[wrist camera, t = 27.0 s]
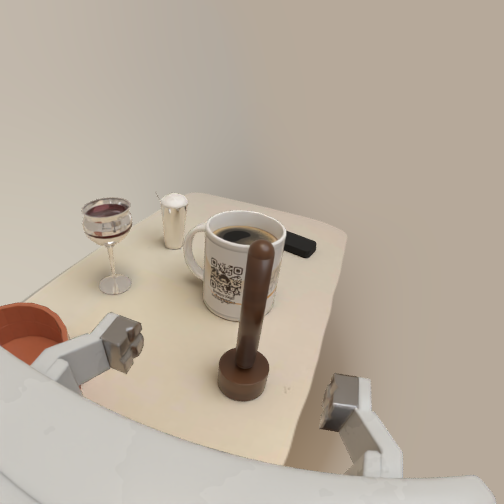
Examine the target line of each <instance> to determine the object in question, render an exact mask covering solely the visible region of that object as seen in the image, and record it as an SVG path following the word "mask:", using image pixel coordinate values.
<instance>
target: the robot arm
mask: <svg viewBox="0 0 504 504" xmlns="http://www.w3.org/2000/svg"><path fill="white" fill-rule="evenodd" d="M141 330H142V326H141V323H139V322H136V321H134V320H131V319H128V318H126V317H123V316H121V315H118V314H115V313H113V312H110V313H108V314H107V315H106V316H105V317H104V318H103V319H102V320H101V322H100V323H99V324H98V325H97V326H96V327H95V329H94V330H93V331H92V332H91V333H90V334H88V333H86V334H84V335H81V336H78V337H76V338H73V339H70V340H68V341H65V342H62V343H60V344H57V345H54V346H51V347H49V348H46V349H45V350H44V351H43V352H42V353H41V354H40V355H39V356H38V357H37V359H36V360H35V361H34V362H33V363H32V364H31V365H30V366H29V365H28V364H26V363H25V362H23V361H22V360H20V359H19V358H17V357H16V356H14V355H13V354H11V353H10V352H8V351H7V350H6V349H4V348H3V347H1V346H0V504H496V499H495V496H494V495H493V493H492V492H491V491H490V489H489V488H488V487H487V486H486V485H485V483H484V482H483V481H482V480H481V479H480V478H479V477H478V476H475V475H466V476H454V477H437V478H403V452H402V451H401V449H400V448H399V446H398V445H397V443H396V442H395V440H394V439H393V438H392V436H391V435H390V433H389V432H388V430H387V429H386V427H385V426H384V425H383V423H382V422H381V420H380V419H379V417H378V416H377V414H376V413H375V412H372V410H371V381H370V379H367V378H361V377H355V376H349V375H343V374H337V373H334V374H333V376H332V378H331V383H330V384H329V385H328V386H327V388H326V390H325V394H324V398H323V403H322V407H323V409H324V411H323V413H322V415H321V419H320V429H325V430H330V431H335V432H339V434H340V436H341V439H342V441H343V443H344V445H345V447H346V449H347V451H348V453H349V455H350V457H351V460H352V462H353V465H352V466H351V468H349V469H348V470H347V471H346V472H345V473H344V474H343V475H341V474H333V473H325V472H317V471H311V470H304V469H298V468H292V467H287V466H282V465H276V464H272V463H267V462H262V461H258V460H254V459H249V458H245V457H241V456H237V455H234V454H230V453H226V452H223V451H219V450H216V449H212V448H209V447H206V446H203V445H199V444H196V443H193V442H190V441H187V440H184V439H181V438H178V437H175V436H173V435H170V434H167V433H164V432H162V431H159V430H156V429H154V428H151V427H149V426H146V425H144V424H141V423H139V422H137V421H134V420H132V419H130V418H127V417H125V416H123V415H120V414H118V413H116V412H114V411H112V410H110V409H107V408H105V407H103V406H101V405H99V404H97V403H95V402H93V401H91V400H89V399H87V398H85V397H83V394H82V392H81V390H80V388H79V386H80V385H81V384H83V383H85V382H87V381H89V380H90V379H92V378H94V377H96V376H98V375H100V374H101V373H103V372H105V371H107V370H108V369H110V368H113V369H115V370H118V371H120V372H123V373H126V374H127V372H128V371H129V369H130V368H131V366H132V365H133V358H135V357H138V356H139V354H140V353H141V351H142V348H143V344H144V338H143V336H142V334H141V333H140V331H141Z"/></svg>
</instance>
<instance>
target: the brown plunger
mask: <svg viewBox="0 0 504 504" xmlns="http://www.w3.org/2000/svg"><path fill="white" fill-rule="evenodd" d="M274 257H275V249H274V247H273V245H272V244H271V243H270V242H269V241H267V240H264V239H258V240H256V241H254V242H253V243H252V244H251V245H250V247H249V249H248V256H247V264H246V272H245V280H244V288H243V296H242V304H241V313H240V321H239V329H238V337H237V346H236V348H234V349H231V350H229V351H227V352H226V353H224V354H223V356H222V357H221V359H220V361H219V372H218V385H219V388H220V390H221V391H222V392H223V393H224V394H225V395H226V396H227V397H229V398H231V399H233V400H237V401H249V400H253V399H255V398H257V397H258V396H260V395H261V394H262V392H263V391H264V388H265V385H266V381H267V377H268V373H269V364H268V361H267V359H266V358H265V357H264V356H263V355H262V354H261V353H260V352H258V351H257V350H258V345H259V340H260V334H261V329H262V324H263V318H264V313H265V307H266V302H267V296H268V291H269V285H270V279H271V274H272V268H273V262H274Z"/></svg>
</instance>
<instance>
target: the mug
mask: <svg viewBox="0 0 504 504" xmlns="http://www.w3.org/2000/svg"><path fill="white" fill-rule="evenodd" d="M197 232H205V248H204V270H203V269H202V268H201V267H200V266H199V265H198V264H197V263H196V261H195V259H194V256H193V253H192V241H193V238H194V236H195V234H196V233H197ZM258 239H264V240H267V241H269V242H270V243H271V244H272V245H273V247H274V249H275V257H274V262H273V268H272V274H271V279H270V285H269V291H268V296H267V302H266V307H265V313H264V315H266V314H267V313H268V312H269V311H270V310H271V308H272V306H273V303H274V298H275V293H276V287H277V282H278V277H279V272H280V267H281V261H282V256H283V250H284V245H285V240H286V229H285V227H284V226H283V225H282V224H281V223H280V222H279V221H278V220H276V219H274V218H272V217H270V216H267V215H265V214H261V213H257V212H252V211H242V210H235V211H225V212H221V213H218V214H215V215H213V216H212V217H210V218H209V219H208V221H207V222H206V223H200V224H198V225H197V226H195V227H194V228H193V229H191V230H190V231H189V232H188V234H187V235H186V237H185V240H184V246H183V251H184V257H185V261H186V263H187V265H188V267H189V269H190V270H191V272H192V273H193V274H194V275H195V276H196V277H197V278H199V279H200V280H203V300H204V303H205V305H206V306H207V308H208V309H209V310H210V311H211V312H213V313H214V314H216V315H217V316H219V317H222V318H224V319H227V320H232V321H240V313H241V304H242V296H243V288H244V280H245V272H246V264H247V256H248V249H249V247H250V245H251V244H252V243H253V242H254V241H256V240H258Z"/></svg>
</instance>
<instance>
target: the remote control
mask: <svg viewBox="0 0 504 504" xmlns="http://www.w3.org/2000/svg"><path fill="white" fill-rule="evenodd" d="M284 250H286V251H289V252H292V253H294V254H297V255H299V256H302V257H305V258H307V257H310V256H311V255H312V254H313V252H314V251H315V250H316V242H315V241H313V240H310V239H307V238H305V237H302V236H299V235H297V234H294V233H291V232H288V231H286V240H285V245H284Z"/></svg>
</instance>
